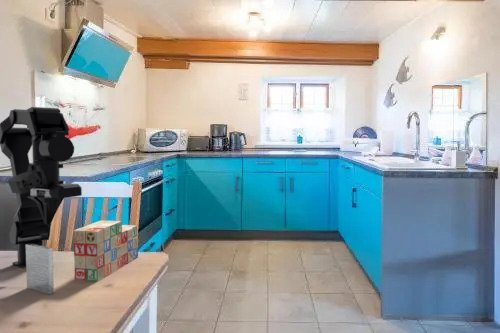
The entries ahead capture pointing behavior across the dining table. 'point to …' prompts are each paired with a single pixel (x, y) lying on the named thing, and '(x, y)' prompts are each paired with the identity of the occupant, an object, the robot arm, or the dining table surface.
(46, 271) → the bookend
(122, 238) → the stack of blocks
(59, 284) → the dining table surface
